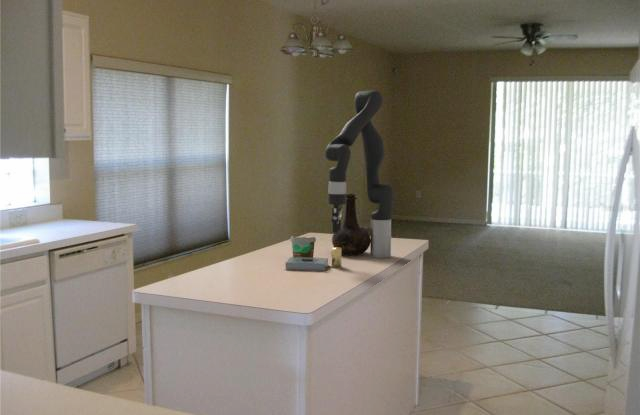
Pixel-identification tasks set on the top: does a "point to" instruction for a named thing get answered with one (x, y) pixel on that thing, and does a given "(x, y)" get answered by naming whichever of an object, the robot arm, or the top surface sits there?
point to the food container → (303, 246)
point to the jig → (307, 264)
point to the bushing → (336, 257)
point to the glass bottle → (351, 232)
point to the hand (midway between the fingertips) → (336, 231)
